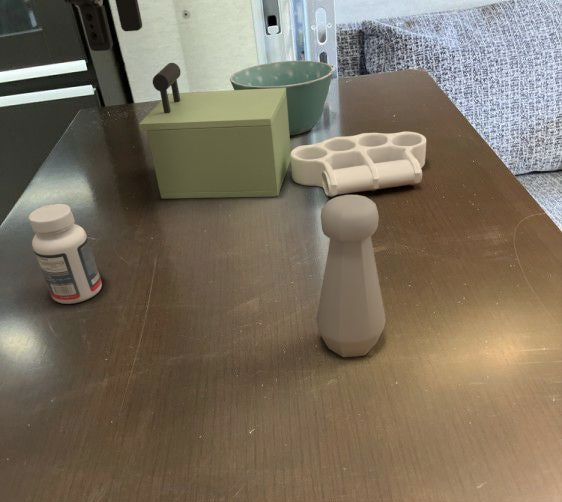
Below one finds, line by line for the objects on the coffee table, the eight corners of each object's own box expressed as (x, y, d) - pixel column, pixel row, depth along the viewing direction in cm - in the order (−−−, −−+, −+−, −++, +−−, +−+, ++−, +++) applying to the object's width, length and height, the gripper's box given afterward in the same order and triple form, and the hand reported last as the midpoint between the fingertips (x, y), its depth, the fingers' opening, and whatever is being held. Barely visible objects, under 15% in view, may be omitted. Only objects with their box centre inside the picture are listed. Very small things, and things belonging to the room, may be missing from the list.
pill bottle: (89, 273, 68) (64, 195, 62) (111, 290, 65) (87, 210, 59) (43, 292, 65) (13, 213, 60) (64, 311, 62) (34, 229, 57)
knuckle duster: (304, 207, 76) (285, 164, 87) (446, 186, 77) (410, 147, 88) (302, 180, 74) (283, 140, 85) (449, 159, 75) (411, 122, 86)
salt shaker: (306, 337, 55) (295, 198, 47) (360, 316, 57) (359, 179, 49) (340, 372, 51) (336, 227, 43) (398, 348, 53) (404, 204, 45)
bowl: (241, 115, 106) (234, 63, 101) (333, 108, 105) (332, 55, 100) (232, 148, 94) (224, 90, 89) (336, 141, 93) (334, 81, 88)
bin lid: (140, 130, 76) (129, 83, 73) (169, 99, 86) (161, 56, 82) (271, 125, 74) (266, 76, 70) (286, 93, 83) (283, 49, 80)
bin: (161, 198, 82) (146, 130, 76) (186, 162, 91) (174, 99, 86) (278, 196, 79) (271, 126, 74) (291, 159, 89) (286, 94, 83)
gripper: (67, -161, 61) (110, 27, 71) (-10, -162, 50) (54, 59, 60) (139, -170, 59) (173, 23, 69) (77, -173, 48) (127, 55, 59)
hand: (118, 39), depth 65 cm, fingers open, 8 cm apart
